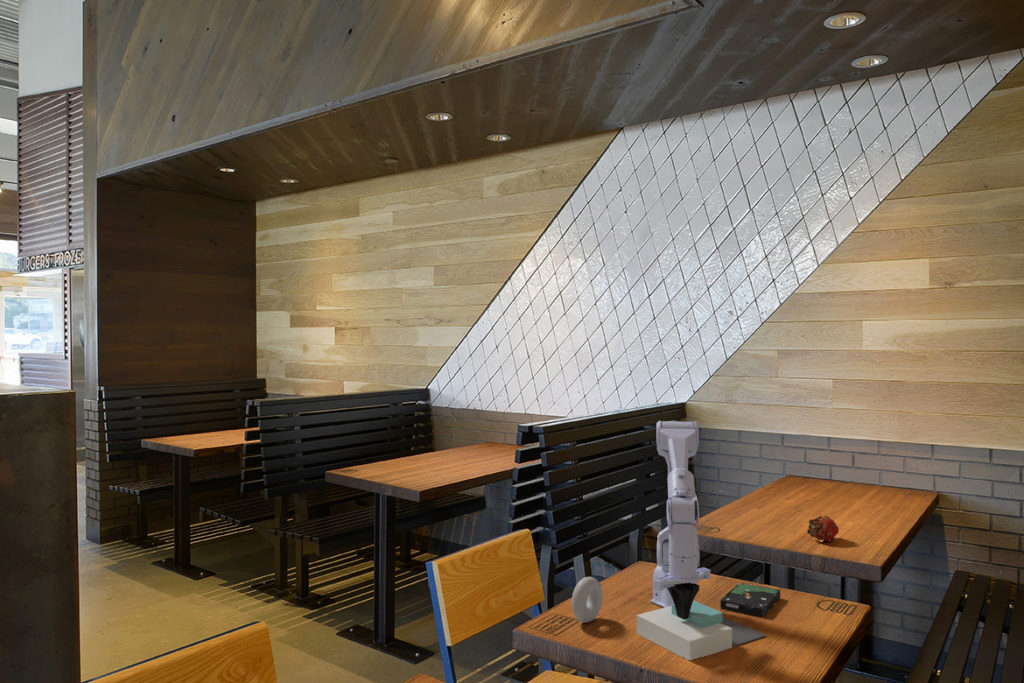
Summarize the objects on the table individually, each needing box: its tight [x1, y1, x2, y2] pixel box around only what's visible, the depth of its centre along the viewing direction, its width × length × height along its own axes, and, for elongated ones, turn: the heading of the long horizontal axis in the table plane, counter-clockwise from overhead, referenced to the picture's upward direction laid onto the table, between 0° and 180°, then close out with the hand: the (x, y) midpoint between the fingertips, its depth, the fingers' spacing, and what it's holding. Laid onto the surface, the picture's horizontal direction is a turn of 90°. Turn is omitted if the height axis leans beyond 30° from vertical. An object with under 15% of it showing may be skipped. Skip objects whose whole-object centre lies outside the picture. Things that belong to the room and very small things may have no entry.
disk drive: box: [719, 582, 781, 618], centre depth 177 cm, size 10×3×15 cm
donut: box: [571, 576, 604, 623], centre depth 167 cm, size 10×4×10 cm, turn 141°
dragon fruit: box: [806, 515, 839, 542], centre depth 230 cm, size 8×8×12 cm
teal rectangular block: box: [672, 599, 723, 628], centre depth 158 cm, size 9×6×2 cm, turn 31°
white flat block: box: [636, 606, 733, 662], centre depth 156 cm, size 16×12×4 cm
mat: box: [721, 615, 767, 648], centre depth 162 cm, size 16×10×1 cm, turn 31°
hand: (682, 617), depth 156 cm, fingers closed
